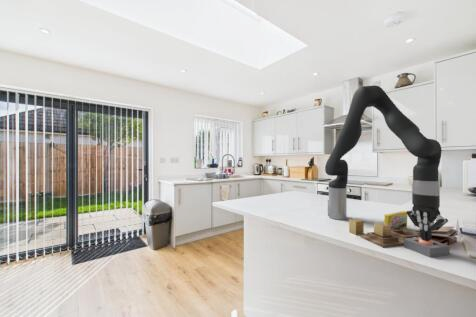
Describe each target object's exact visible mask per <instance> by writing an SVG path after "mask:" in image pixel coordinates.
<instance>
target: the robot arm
mask: <svg viewBox="0 0 476 317" xmlns="http://www.w3.org/2000/svg"><path fill="white" fill-rule="evenodd" d="M349 105H350V106H349V109H348V112H347V115H346V118H345V121H344V123H343V126H342V128H341V131H340V133H339V135H338V138H337V140H336V143H335V145H334V148H333V149H332V151H331V154H330V155H329V157H328V159H327V160H326V163H325V166H324V171H325V174H327V175H328V176H334V177H335V176H336V178H335V179H333V180H331V181H329V183H328V199H327V217H329V218H330V219H333V220H338V221H339V220H341V221H342V220H347V213H348V212H347V184H348V178H349V177H348V176H349V165H348V163H347V161H346V160H345V159H342V157H344V156H345V155H346V154H348V153H349V152H350V151H351V150H352V149H354V148H355V147H356V145H357V143H358V142H359V140H360V137H361V136H362V131H363V130H362V123H361V122H362V117H363V114H364V113H365V111H366V109H367V108H370V107H374V108H375V110H376V109H377V110H378V111H379V113H381V114H382V116H383V118H384V121H385V124H386V126H387V127H388V129H389V130H390V131H391V132H392V133H393V134H394V135H395V136H396V137H397V138H398V139H399V140H401V142H402V144H403V145H404V148H405V149H406V150H407V151H408V152H409V153H410V154H412V155H413V156H414V157H417V159H416V160H417V161H416V164H415V165H414V166H413V168H412V184H411V185H412V187H411V190H412V191H411V193H412V194H411V195H412V197H411V199H412V201H411V202H412V208H411V210H407V211H405V212H406V213H407V217H408V218H409V219H410V221H411V222H412V224H413V225H414V226H415V227H417V228H418V229H419V232H420V233H419V235H420V237H421V239H422V240H425V241H430V240H433V238H432V231H433V232H434V231H438V230H440V229H441V228H443V226H445V224H447V223H448V222H449V220H448V219H447V218H444V217H443V216H442V214H441V211H440V210H439V208H440V207H441V205H440V203H441V202H440V201H441V200H440V199H441V198H440V197H441V195H440V189H441V188H440V184H439V183H440V181H439V167H440V162H441V158H442V145H441V144H440V142H439V141H437V140H436V139H433V138H427V136H425V135H424V134H422V133H423V132H421V130H420V127H419V126H418V125H416V123H414V122H413V121H412V120H411V119H410V118H409V117H407V116H406V115H405V114H404V113H403V111H401V110H400V108H398V107H397V105H396V104H395V103H394V102H393V100H392V99H391V98H390V97H389V95H388V93H387V92H386V91H385V90H384V89H383V88H382V87H380V86H379V85H365V86H360V87H359V88H357V89H355V91H354V93H353V95H352V99H351V102H350V104H349Z"/></svg>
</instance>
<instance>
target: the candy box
mask: <svg viewBox="0 0 476 317" xmlns="http://www.w3.org/2000/svg"><path fill="white" fill-rule="evenodd" d="M406 212H407V211H404V210H402V211H398V212H392V213H388V214H386V213H385V214H384V217H383V219H384V222H383V223H385V224H388V225H391V230H400V229H403V230H406V229H407V228H408V215H407V213H406Z"/></svg>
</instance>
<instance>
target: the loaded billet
mask: <svg viewBox="0 0 476 317" xmlns="http://www.w3.org/2000/svg"><path fill="white" fill-rule="evenodd" d="M373 232H374V235H376V236H379V237H381V238H388V237H391V225H388V224H385V223H384V222H374V223H373Z"/></svg>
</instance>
